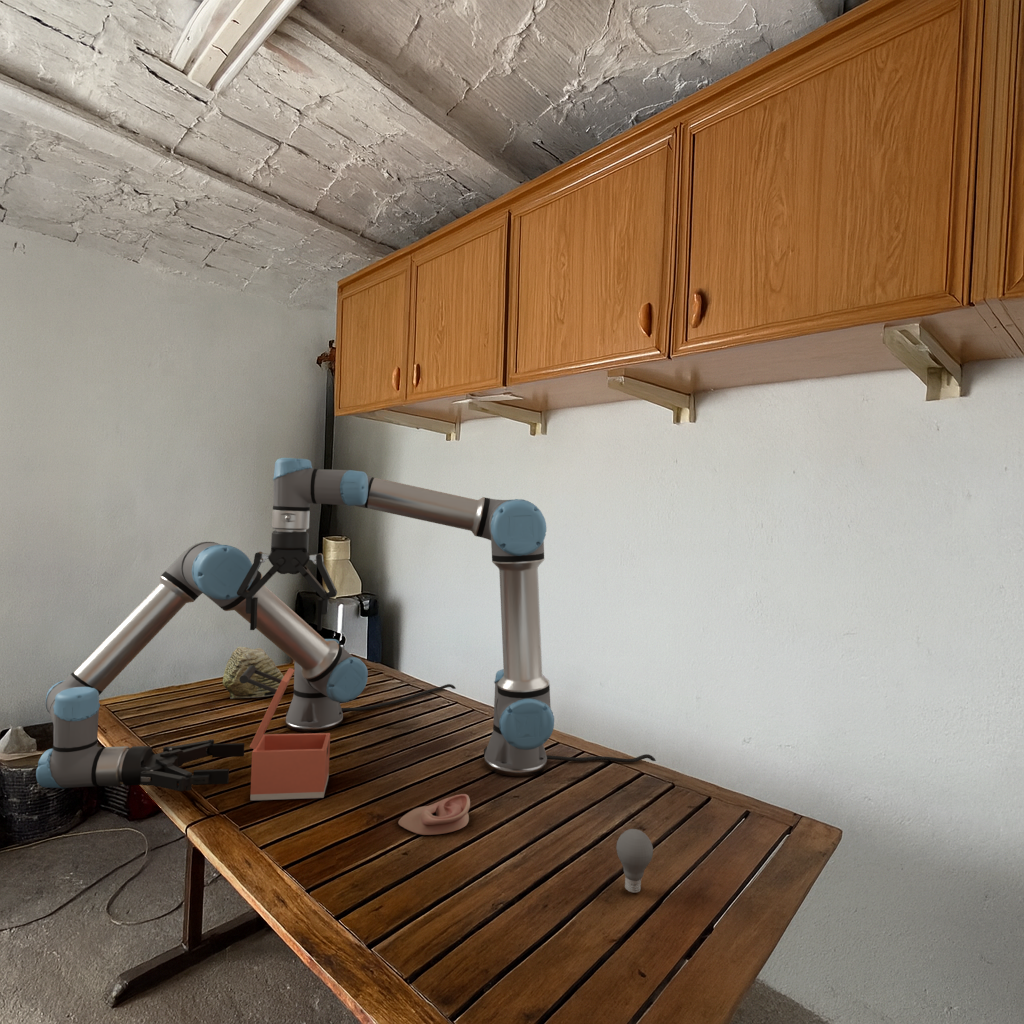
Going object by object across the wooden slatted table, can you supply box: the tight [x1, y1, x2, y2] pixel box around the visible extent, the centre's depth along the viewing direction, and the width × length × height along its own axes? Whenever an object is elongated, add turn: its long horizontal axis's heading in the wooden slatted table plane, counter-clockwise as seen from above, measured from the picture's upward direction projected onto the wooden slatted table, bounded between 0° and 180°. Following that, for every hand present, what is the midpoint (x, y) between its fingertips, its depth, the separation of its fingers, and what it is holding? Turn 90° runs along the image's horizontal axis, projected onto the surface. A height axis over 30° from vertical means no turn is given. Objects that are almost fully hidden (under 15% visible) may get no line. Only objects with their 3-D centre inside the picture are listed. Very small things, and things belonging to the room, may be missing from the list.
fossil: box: [222, 646, 285, 699], centre depth 198 cm, size 9×18×15 cm, turn 132°
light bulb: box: [615, 828, 654, 894], centre depth 106 cm, size 6×6×10 cm
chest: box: [249, 732, 331, 801], centre depth 137 cm, size 15×10×10 cm
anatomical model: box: [397, 793, 471, 836], centre depth 125 cm, size 13×4×12 cm
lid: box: [239, 665, 295, 750], centre depth 135 cm, size 15×10×9 cm
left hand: (236, 762), depth 134 cm, fingers open, 13 cm apart
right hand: (286, 629), depth 136 cm, fingers open, 13 cm apart
